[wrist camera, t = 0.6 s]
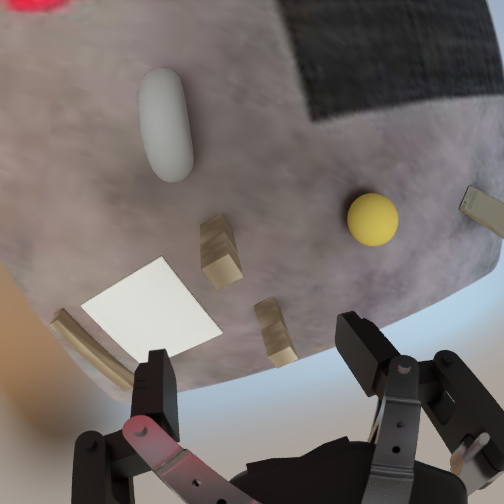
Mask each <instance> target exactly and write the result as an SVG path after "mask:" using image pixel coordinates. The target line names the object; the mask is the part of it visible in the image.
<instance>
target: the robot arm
mask: <svg viewBox="0 0 504 504" xmlns="http://www.w3.org/2000/svg"><path fill="white" fill-rule="evenodd" d="M335 344H336V348H337V350H338V352H339V353H340V355H341V356H342V358H343V359H344V361H345V362H346V364H347V365H348V367H349V369H350V370H351V372H352V373H353V375H354V376H355V378H356V379H357V381H358V382H359V384H360V385H361V387H362V389H363V390H364V391H365V393H366V395H367V396H368V397H371V396H373V395H377V396H378V401H377V406H376V410H375V415H374V420H373V424H372V428H371V432H370V436H369V438H368V441H367V442H362V441H351V442H350V441H349V439H348V437H347V436H345V437H342V438H339V439H336V440H334V441H331V442H328V443H325V444H322V445H321V446H319V447H317V448H316V449H314V450H312V451H310V452H309V453H307V454H305V455H303V456H301V457H293V458H271V459H267V460H262V461H257V462H253V463H247V464H246V466H247V470H246V471H243V472H241V473H240V474H238V475H236V476H235V477H233V478H232V479H231V480H230V481H229V482H228V481H227V480H225V479H224V478H223V477H222V476H220V475H219V474H218V473H217V472H215V471H214V470H213V469H211V468H210V467H209V466H207V465H206V464H205V463H204V462H203V461H201V460H200V459H199V458H198V457H197V456H195V455H194V454H193V453H192V452H191V451H189V450H188V449H183V448H182V447H181V446H180V445H179V444H178V443H177V442H180V438H179V423H178V408H177V407H178V406H177V384H176V377H175V373H174V370H173V367H172V365H171V362H170V359H169V356H168V354H167V351H166V349H165V348H164V349H157V350H150V351H149V353H148V362H144V363H140V364H139V366H138V367H137V369H136V371H135V375H134V384H133V394H132V405H131V416H130V419H128V420H127V421H126V422H125V424H124V426H123V428H122V429H121V430H119V431H117V432H114V433H111V434H108V435H105V436H102V434H100V433H99V432H97V431H86V432H84V433H82V434H81V435H80V436H79V437H78V438H77V440H76V442H75V449H74V460H73V474H72V498H71V504H135V498H134V486H133V476H136V475H139V474H142V473H145V472H148V471H151V470H152V471H153V472H154V473H155V474H156V475H157V476H158V477H159V478H160V479H161V480H162V481H163V482H164V483H165V484H166V485H167V486H168V487H169V488H170V489H171V490H172V491H173V492H174V493H175V494H176V495H177V496H178V497H179V498H180V499H181V500H182V501H184V502H185V503H186V504H468V501H467V499H468V496H469V495H470V494H472V493H473V492H475V491H476V490H481V489H484V488H486V487H487V486H488V485H490V484H491V483H492V482H493V481H495V480H496V479H497V478H498V477H499V476H500V475H502V474H503V473H504V411H503V409H502V408H501V407H500V405H499V404H498V403H497V402H496V400H495V399H494V398H493V397H492V396H491V394H490V393H489V392H488V391H487V389H486V388H485V387H484V386H483V384H482V383H481V382H480V381H479V380H478V378H477V377H476V376H475V375H474V374H473V373H472V371H471V370H470V369H469V368H468V367H467V366H466V364H465V363H464V362H463V361H462V360H461V359H460V358H459V356H458V355H457V354H455V353H454V352H452V351H449V350H442V351H439V352H437V353H436V354H435V356H434V359H433V360H429V361H421V362H417V361H416V360H415V359H414V358H412V357H410V356H407V355H401V354H400V353H399V352H398V351H397V350H396V349H395V347H394V346H393V345H392V344H391V342H390V341H389V340H388V339H387V338H386V337H384V334H383V333H382V332H381V331H379V329H378V327H377V326H376V325H375V324H374V323H373V322H371V321H369V320H367V319H366V318H363V319H361V318H360V317H359V316H358V315H357V314H356V313H355V312H354V311H350V312H346V313H342V314H339V315H338V316H337V324H336V334H335ZM447 392H448V393H447ZM448 394H449V395H450V396H451V397H450V396H449V395H448ZM451 398H452V399H453V400H454V401H453V400H452V399H451ZM454 402H455V403H454ZM421 407H422V408H423V410H424V411H425V413H426V414H427V416H428V417H429V419H430V420H431V422H432V424H433V425H434V427H435V428H436V430H437V431H438V433H439V435H440V436H441V437H442V439H443V441H444V443H445V444H446V446H447V447H448V449H449V451H450V452H451V454H452V456H451V458H450V465H451V468H450V470H451V472H452V473H451V472H449V471H445V470H442V469H439V468H436V467H433V466H430V465H427V464H425V463H422V462H419V461H416V460H415V454H416V447H417V440H418V432H419V422H420V411H421Z"/></svg>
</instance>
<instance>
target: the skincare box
mask: <svg viewBox="0 0 504 504" xmlns="http://www.w3.org/2000/svg"><path fill="white" fill-rule="evenodd" d="M460 210H461V211H462V212H464V213H465V214H466V215H468V216H469V217H470V218H472V219H473V220H475V221H476V222H478V223H479V224H481V225H483V226H484V227H486V228H487V229H489V230H490V231H492V232H493V233H495V234H497V235H498V236H500V237H501V238H503V239H504V203H503V202H501V201H499V200H497V199H496V198H494V197H492V196H490V195H488V194H486V193H484V192H482V191H480V190H478V189H476V188H474V187H472V186H469V188H468V190H467V192H466V195H465V197H464V199H463V202H462V204H461V206H460Z"/></svg>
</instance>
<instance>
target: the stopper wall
mask: <svg viewBox="0 0 504 504" xmlns="http://www.w3.org/2000/svg"><path fill="white" fill-rule="evenodd" d="M50 326H51V327H52V328H53V329H54V330H55V331H56V332H57V333H58V334H59V335H60V336H61V337H62V338H63V339H64V340H65V341H66V342H67V343H68V344H69V345H71V346H72V347H73V348H74V349H75V350H76V351H77V352H78V353H79V354H80V355H81V356H83V357H84V358H85V359H86V360H87V361H88V362H89V363H91V364H92V365H93V366H94V367H95V368H96V369H98V370H99V371H100V372H101V373H102V374H104V375H105V376H106V377H107V378H109V379H110V380H111V381H112V382H114V383H115V384H116V385H117V386H119V387H120V388H121V389H123V390H124V391H127V390H130V389H132V388H133V384H134V374H133V373H131V372H130V371H129V370H128V369H127V368H125V367H124V366H123V365H122V364H121V363H120V362H118V361H117V360H116V359H115V358H114V357H113V356H112V355H110V354H109V353H108V352H107V351H106V350H105V349H104V348H103V347H102V346H101V345H100V344H98V343H97V342H96V341H95V340H94V339H93V338H92V337H91V336H90V335H89V334H88V333H87V332H86V331H85V330H84V329H83V328H82V327H81V326H80V325H79V324H78V323H77V322H76V321H75V320H74V319H73V318H72V317H71V316H70V315H69V314H68V313H67V312H66V311H65V310H64V309H61V310H60V311H58V312H57V313H55V315H54V317H53V319H52V321H51V323H50Z"/></svg>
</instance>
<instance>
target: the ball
mask: <svg viewBox="0 0 504 504" xmlns="http://www.w3.org/2000/svg"><path fill="white" fill-rule="evenodd" d="M347 222H348V227H349V230H350V232H351V234H352V235H353V237H354V238H355V239H356V240H358V241H359V242H360V243H362V244H364V245H367V246H379V245H382V244H385V243H386V242H388V241H389V240H390V239H391V238H392V237H393V236H394V234H395V232H396V230H397V227H398V213H397V210H396V208H395V206H394V205H393V203H392V202H391V201H390V200H389V199H388V198H386V197H385V196H383V195H380V194H376V193H368V194H364V195H362V196H360V197H358V198H357V199H356V200H355V201H354V202H353V203H352V205H351V206H350V208H349V211H348V216H347Z"/></svg>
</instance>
